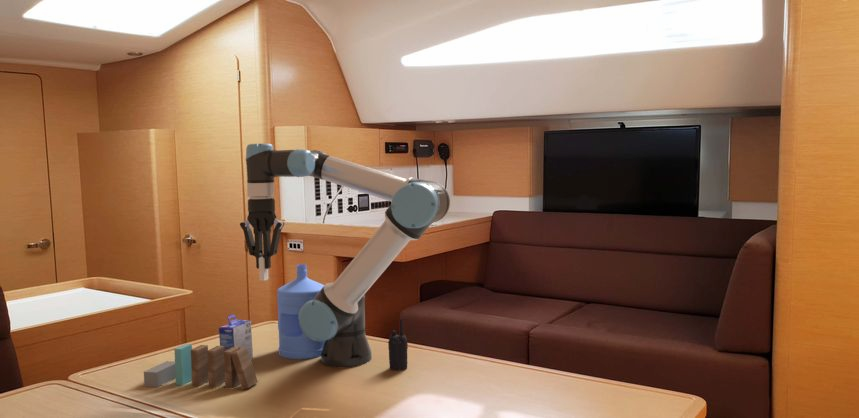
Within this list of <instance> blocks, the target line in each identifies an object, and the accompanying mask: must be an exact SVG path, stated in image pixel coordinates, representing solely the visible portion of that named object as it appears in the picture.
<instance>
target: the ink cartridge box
mask: <svg viewBox="0 0 859 418" xmlns="http://www.w3.org/2000/svg"><path fill="white" fill-rule="evenodd" d="M232 318H234V319H232ZM231 319H232V320H231ZM227 320H228V323H226V324H224V325H222V326H219V327H218V335H219V346H224V351H226V350H228V349H230V348H232V347H240V349H241V348H244V347H247V350H248V353H249V356H250V359H251V360H252V359H253V358H254V351H253V350H254V349H253V335H252V320H250V319H237V317H236V315H235V314H231V315H229V316H227Z"/></svg>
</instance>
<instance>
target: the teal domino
mask: <svg viewBox="0 0 859 418" xmlns="http://www.w3.org/2000/svg"><path fill="white" fill-rule="evenodd" d="M192 349H193V344H189V343H185V344H183V345H181V346H178V347H176V348H174V361H175V374H176V378H175V385H176V386H181V387H182V386H184V385H187V384H189V382H192V368H191V350H192Z"/></svg>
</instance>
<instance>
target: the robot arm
mask: <svg viewBox="0 0 859 418" xmlns="http://www.w3.org/2000/svg"><path fill="white" fill-rule="evenodd" d="M245 149H246V150H245V151H246V154H245V163H246V188H247V189H246V193H247V197H248V198H249V199H247V212H248V214H247V217H246V220H244V221H243V222H240V223H239V226H240V228H241V229H242V231H243V234H244V239H245V242H246V243H245V244H246V246H247V247H246V248H247V250H248V254H249V255H250V256H253V257H255V265H256V269H258V273H259V275H258V276H259V277H258V278H259V281H260V282H262V281H264V282H265V281H267V280H268V281H269V269H270V268H272V259H271V257H272V256H275V255H277V253H278V250H279V243H280V238H281V234H282V230H283V228H284V226H285V222H284V221H280V220H279V219H278V218H277V215H276V201H275V198H274V197H275V178H277V177H279V178H280V177H281V178H282V177H284V178H286V177H287V178H289V177H290V178H292V177H293V178H295V177H297V178H302V177H303V178H304V177H312V178H315V179H319V180H322V181H326V182H329V183H333V184H335V185H339V186H342V187H345V188H348V189H351V190H354V191H357V192H360V193H363V194H367V195H368V196H369V195H370V196H373V197H376V198H378V199H382V200H386V201H387V202H391V204H390V205H389V206H388V207H387V209H386V210H385V211H384V217H385V220H384V221H383V223H382V224H381V225H379V227H378V229H377V230H376V231H375V232H374V233H373V235H372V236H371V237H370V238H369V240H367V242H366V243H365V244H364V246H363V247H362V248H361V249H360V250H359V251H358V253H357V254H356V255H355V256H354V258H353V259H352V260H351V261H350V263H349V264H348V265H347V266H346V267H345V268H344V270H343V271H342V272H341V273H340V275H338V277H337V278H336V279H335V280H334V282H327V283H325V284H323V285H324V287H323V288H322V289H321V290H320V291H319V293H318V294H317V295H316V296H315V297H314V298H313V299H312V300H310V301H308V302H306V303H305V304H304V305H303V306H302V308H301V309H300V312H299V325H300V327H301V329H302V331H303V333H304V334H305V335H306V336H307V337H309V338H310V339H312V340H314V341H325V343H324V346H323V350H322V353H321V356H320V362H321V364H322V365H325V366H326V367H331V368H338V367H342V368H343V367H345V368H354V367H359V366H363V365H364V364H365V365H366V364H367V362H368V363H369V362H371V361H372V358H373V357H372V350H371V347H370V344H369V342H368V338H367V335H366V313H365V312H366V311H365V309H366V308H365V305H366V302H365V301H366V293H367V292H368V291H369V290H370V288H372V286H374V283H375V282H376V281H377V280H378V279H379V278H380V277H381V276H382V274H383V273H384V272H385V271H386V270H387V268H388V267H390V265H391V264H392V262H393V261H394V260H395V259H396V258H397V257H398V256H399V254H400V253H401V252H402V251H403V249H405V247H406V246H407V245H408V244H409V243H410V241H418V240H419V239H420V238H422V236H423V234H424V233H425V232H427V230H428V229H429V227H430V226H431V225H432V224H434V223H436V222H439V221H440V220H442V219H443V218H444V217H445V216H446V215H447V214H448V212H449V210H450V204H451V199H450V195H449V192H448V191H447V189H446V188H445V187H444V186H443V185H442V184H441V183H438V182H436V181H434V180H433V181H431V180H424V179H420V178H417V177H413V176H411V177H409V178H404V177H401V176H398V175H395V174H393V173H392V174H391V173H387V172H384V171H382V170H378V169H375V168H372V167H368V166H365V165H362V164H358V163H355V162H354V161H353V162H352V161H349V160H345V159H342V158H339V157H336V156H333V155H329V154H326V152H323V151H320V150H317V149H316V150H315V149H314V150H309V149H301V148H300V149H299V148H297V149H283V150H282V149H281V150H280V149H279V150H276V149H274V146H273V144H271V143H249V144H247V145H246V148H245ZM251 227H252V228H251ZM272 227H274V228H273V233H272ZM252 229H253V231H252ZM271 233H272V237H271ZM253 234H254V235H253ZM362 364H363V365H362ZM358 365H359V366H358ZM353 366H354V367H353ZM343 369H344V368H343Z"/></svg>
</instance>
